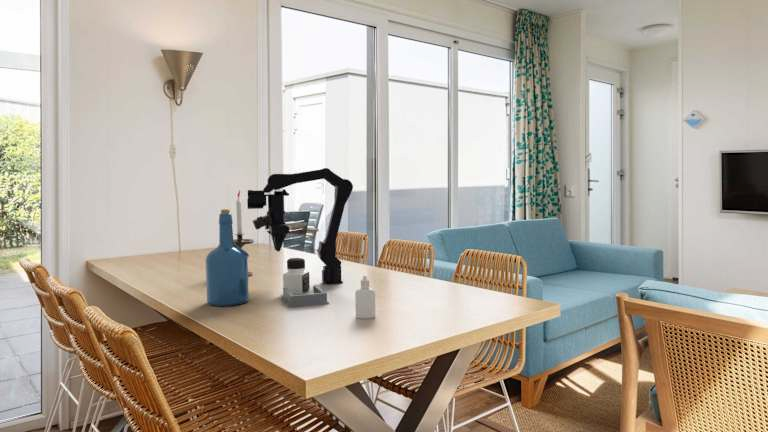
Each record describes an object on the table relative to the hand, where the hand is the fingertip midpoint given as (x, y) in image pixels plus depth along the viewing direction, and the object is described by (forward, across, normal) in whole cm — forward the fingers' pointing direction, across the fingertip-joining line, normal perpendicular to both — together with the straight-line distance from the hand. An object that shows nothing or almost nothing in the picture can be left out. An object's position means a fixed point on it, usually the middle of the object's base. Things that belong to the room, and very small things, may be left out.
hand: (277, 250), depth 204 cm
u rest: (+13, +28, +4) cm, 31 cm away
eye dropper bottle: (+13, +56, +16) cm, 60 cm away
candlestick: (+13, -27, -11) cm, 32 cm away
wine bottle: (+13, +21, -19) cm, 31 cm away
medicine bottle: (+13, +15, +4) cm, 20 cm away
